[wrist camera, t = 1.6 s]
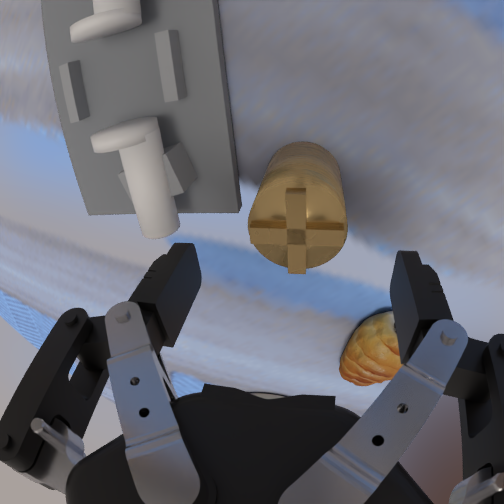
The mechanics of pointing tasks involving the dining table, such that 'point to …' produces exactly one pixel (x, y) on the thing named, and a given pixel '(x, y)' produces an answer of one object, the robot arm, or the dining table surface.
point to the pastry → (372, 352)
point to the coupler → (299, 208)
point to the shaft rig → (144, 107)
